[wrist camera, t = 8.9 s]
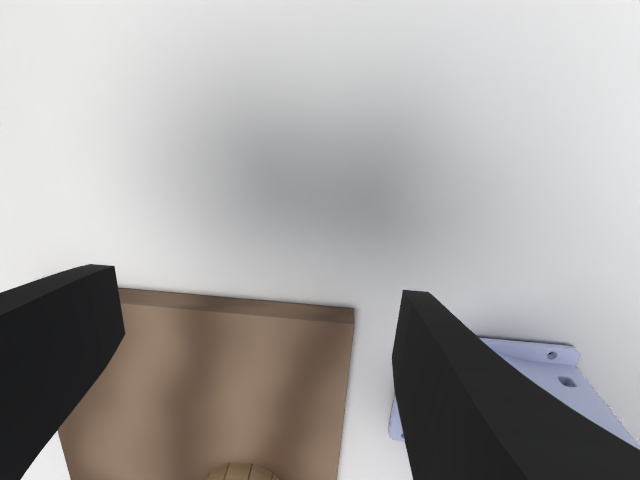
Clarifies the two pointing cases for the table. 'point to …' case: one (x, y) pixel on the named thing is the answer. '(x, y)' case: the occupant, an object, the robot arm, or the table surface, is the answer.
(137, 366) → the fabric cloth
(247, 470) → the bead
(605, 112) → the table surface
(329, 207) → the table surface
